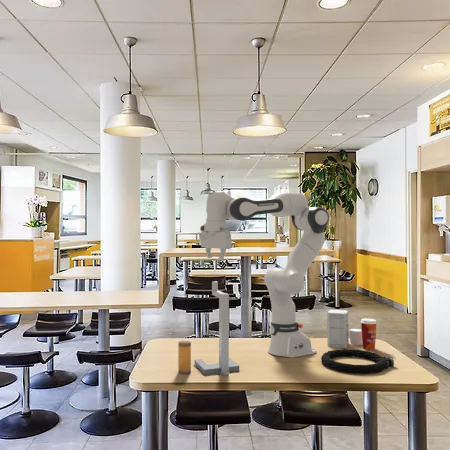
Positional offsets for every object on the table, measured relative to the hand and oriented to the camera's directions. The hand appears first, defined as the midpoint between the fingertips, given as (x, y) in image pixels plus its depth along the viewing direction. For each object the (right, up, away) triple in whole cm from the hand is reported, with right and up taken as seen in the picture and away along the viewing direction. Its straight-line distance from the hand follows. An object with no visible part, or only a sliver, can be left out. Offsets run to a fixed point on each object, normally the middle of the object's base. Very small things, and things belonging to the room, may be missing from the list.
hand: (215, 258), depth 202 cm
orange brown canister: (-12, -45, -18) cm, 50 cm away
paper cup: (+74, -45, +17) cm, 88 cm away
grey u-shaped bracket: (+1, -45, -13) cm, 46 cm away
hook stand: (+2, -45, -16) cm, 47 cm away
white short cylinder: (+70, -45, +27) cm, 88 cm away
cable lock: (+61, -45, -8) cm, 76 cm away
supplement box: (+61, -45, +24) cm, 79 cm away
